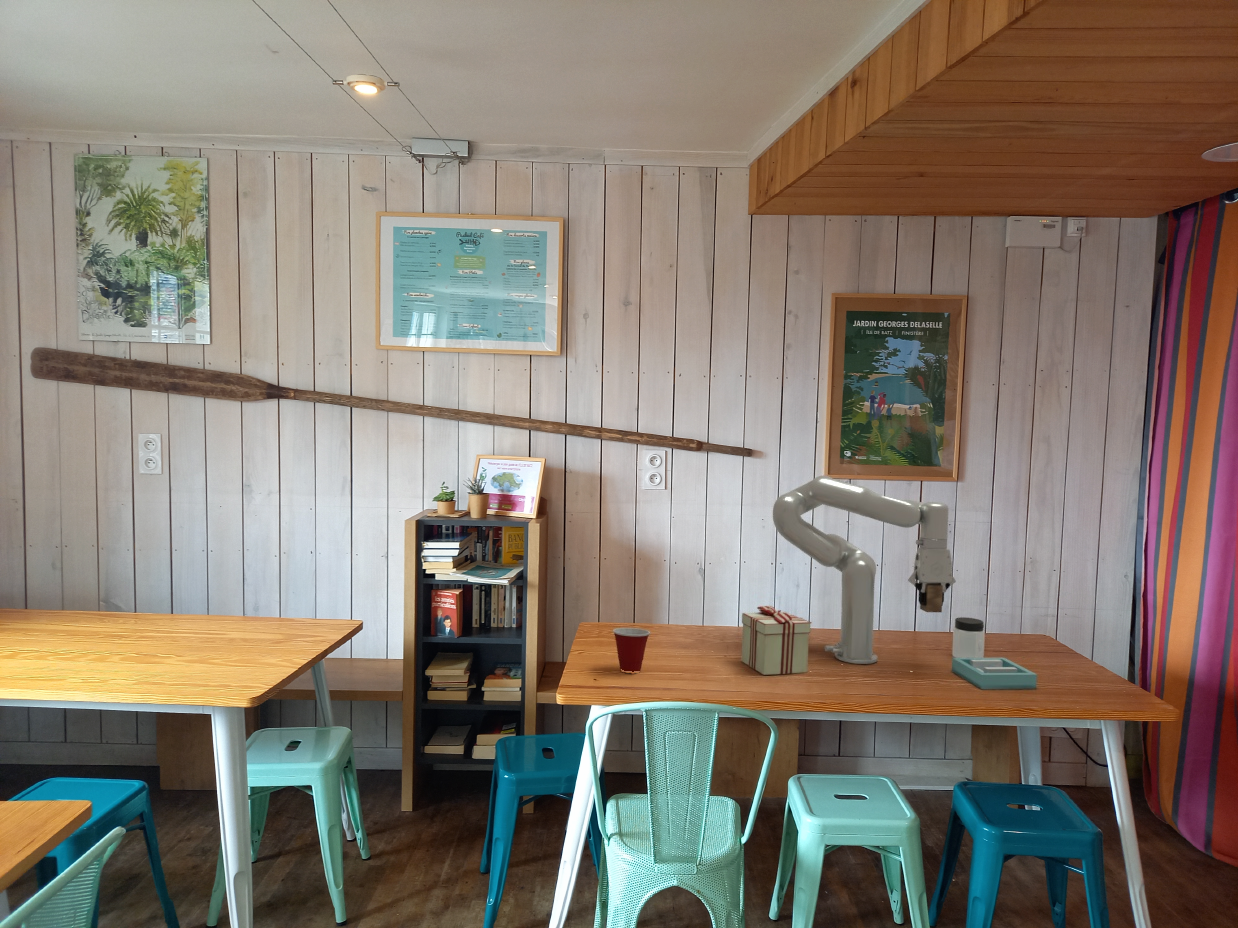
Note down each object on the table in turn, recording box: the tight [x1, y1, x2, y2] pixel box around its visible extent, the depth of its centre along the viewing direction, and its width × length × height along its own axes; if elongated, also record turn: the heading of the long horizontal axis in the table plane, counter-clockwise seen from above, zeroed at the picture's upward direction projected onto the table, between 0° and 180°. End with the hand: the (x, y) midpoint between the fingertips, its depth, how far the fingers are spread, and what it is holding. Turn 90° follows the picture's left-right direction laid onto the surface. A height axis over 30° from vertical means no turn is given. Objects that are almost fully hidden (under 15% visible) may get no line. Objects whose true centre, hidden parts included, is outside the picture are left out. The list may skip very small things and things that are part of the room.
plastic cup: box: [612, 627, 651, 672], centre depth 226 cm, size 11×11×12 cm
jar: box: [951, 616, 986, 658], centre depth 245 cm, size 9×8×12 cm
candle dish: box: [951, 657, 1038, 690], centre depth 224 cm, size 16×16×4 cm
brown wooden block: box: [919, 583, 943, 613], centre depth 234 cm, size 4×4×8 cm
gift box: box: [740, 605, 812, 676], centre depth 233 cm, size 17×18×17 cm
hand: (931, 604), depth 234 cm, fingers closed on brown wooden block, 4 cm apart
